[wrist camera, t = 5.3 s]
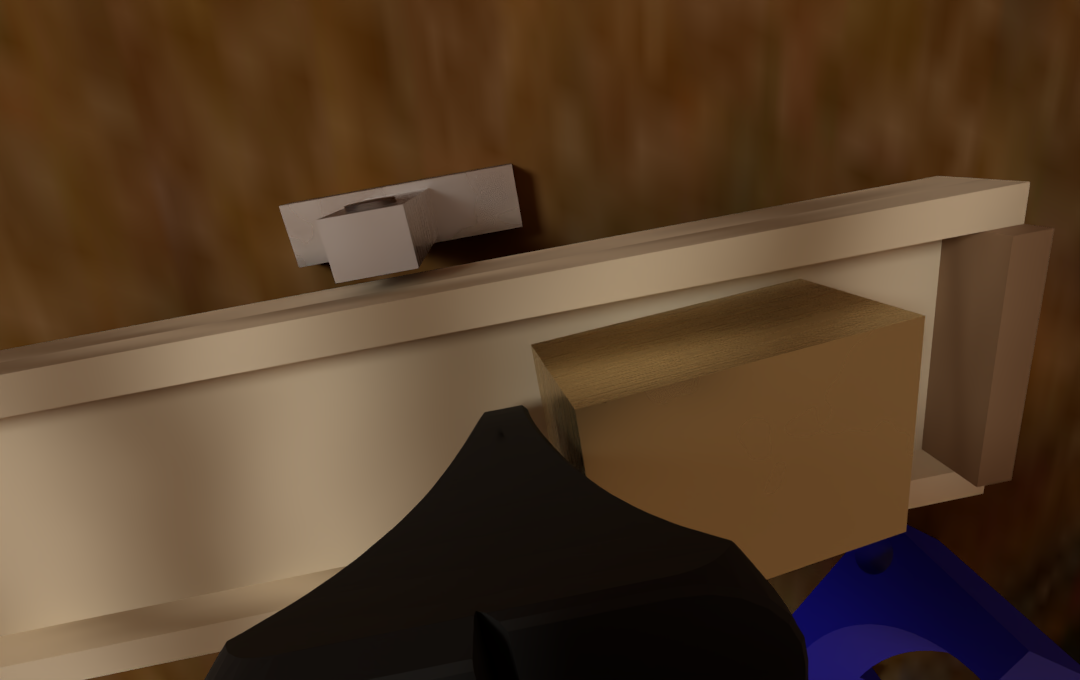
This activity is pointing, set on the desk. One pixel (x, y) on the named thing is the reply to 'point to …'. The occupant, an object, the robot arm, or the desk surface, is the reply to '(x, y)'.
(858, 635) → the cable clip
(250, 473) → the balance beam
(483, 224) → the pivot stand
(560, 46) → the desk surface
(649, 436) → the block
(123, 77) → the desk surface
